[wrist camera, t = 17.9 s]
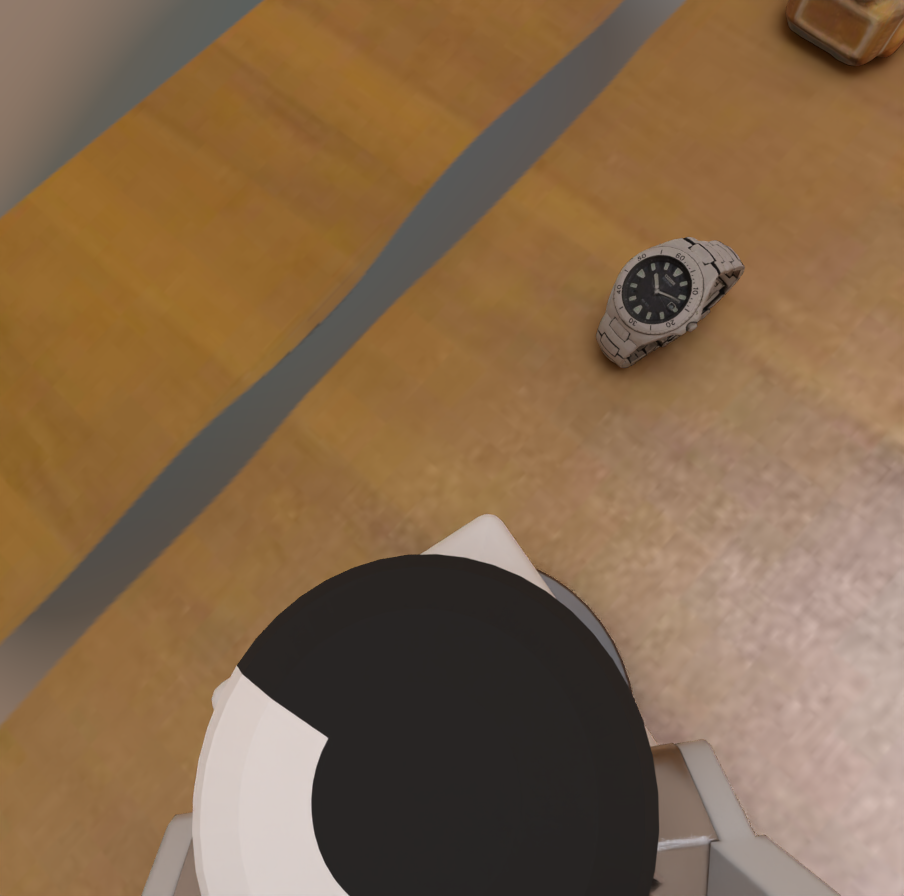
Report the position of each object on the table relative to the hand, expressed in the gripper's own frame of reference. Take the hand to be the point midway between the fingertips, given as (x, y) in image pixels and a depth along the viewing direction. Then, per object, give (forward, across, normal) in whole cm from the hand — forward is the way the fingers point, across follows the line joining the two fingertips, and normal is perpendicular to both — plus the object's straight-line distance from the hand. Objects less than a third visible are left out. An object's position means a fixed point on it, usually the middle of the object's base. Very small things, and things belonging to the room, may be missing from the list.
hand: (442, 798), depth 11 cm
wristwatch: (+18, -10, -1) cm, 21 cm away
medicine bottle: (+6, 0, +6) cm, 8 cm away
